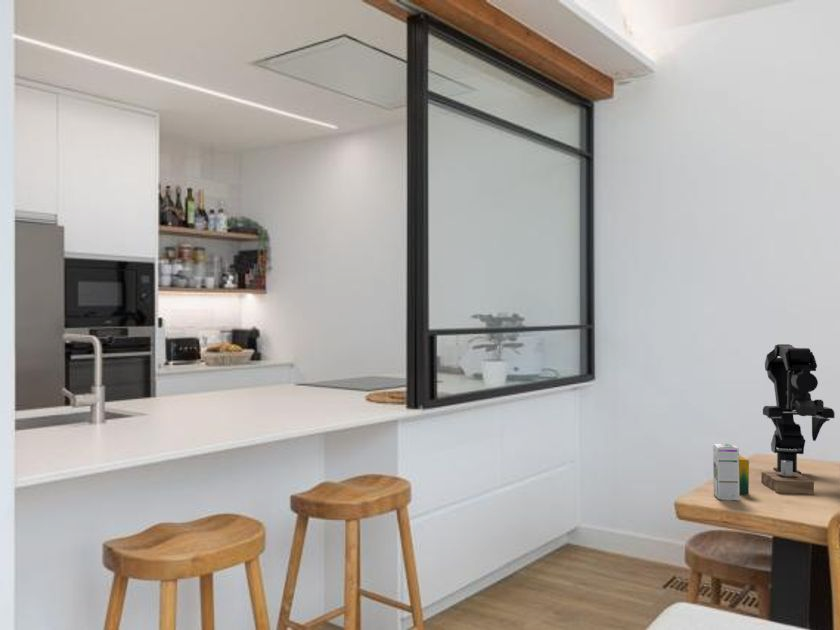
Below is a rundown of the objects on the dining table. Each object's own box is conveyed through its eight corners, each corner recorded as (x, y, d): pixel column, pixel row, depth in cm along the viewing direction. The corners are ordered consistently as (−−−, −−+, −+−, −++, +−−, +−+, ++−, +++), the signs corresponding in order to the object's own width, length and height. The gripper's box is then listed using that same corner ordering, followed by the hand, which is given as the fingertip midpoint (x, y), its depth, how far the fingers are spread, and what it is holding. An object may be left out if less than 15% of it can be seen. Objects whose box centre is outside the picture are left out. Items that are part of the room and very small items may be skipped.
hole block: (761, 483, 210) (761, 471, 210) (796, 484, 208) (796, 472, 208) (776, 492, 198) (776, 480, 198) (813, 494, 196) (813, 481, 196)
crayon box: (749, 495, 195) (749, 453, 195) (738, 494, 196) (738, 453, 196) (740, 488, 202) (740, 448, 203) (729, 488, 203) (729, 448, 203)
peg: (779, 487, 205) (779, 459, 205) (790, 487, 204) (790, 460, 204) (783, 489, 202) (783, 461, 202) (794, 489, 201) (794, 462, 201)
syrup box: (740, 501, 188) (740, 447, 189) (717, 499, 190) (716, 446, 190) (735, 495, 194) (735, 443, 194) (712, 494, 195) (712, 443, 195)
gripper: (775, 391, 205) (775, 444, 205) (843, 392, 203) (843, 445, 203) (762, 387, 217) (762, 437, 216) (826, 388, 214) (826, 439, 214)
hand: (798, 440), depth 212 cm, fingers open, 9 cm apart
